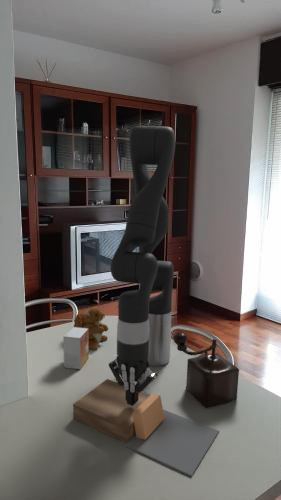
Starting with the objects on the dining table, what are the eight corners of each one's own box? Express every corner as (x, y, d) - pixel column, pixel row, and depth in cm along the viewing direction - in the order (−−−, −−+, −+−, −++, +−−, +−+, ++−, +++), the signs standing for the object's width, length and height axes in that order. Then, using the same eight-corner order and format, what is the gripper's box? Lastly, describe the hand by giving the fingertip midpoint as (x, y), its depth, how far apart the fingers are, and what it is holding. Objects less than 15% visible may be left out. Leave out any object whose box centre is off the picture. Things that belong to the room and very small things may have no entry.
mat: (159, 409, 96) (159, 408, 96) (218, 432, 88) (218, 430, 88) (125, 446, 83) (125, 444, 82) (191, 477, 74) (191, 475, 74)
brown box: (107, 392, 103) (107, 378, 102) (157, 411, 95) (158, 397, 94) (73, 418, 91) (73, 404, 91) (127, 443, 83) (127, 427, 83)
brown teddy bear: (97, 351, 127) (97, 315, 125) (64, 342, 133) (63, 308, 131) (112, 340, 136) (112, 306, 134) (80, 332, 142) (79, 300, 140)
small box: (80, 370, 115) (80, 338, 113) (63, 368, 116) (63, 336, 114) (89, 358, 122) (89, 328, 120) (73, 356, 124) (72, 326, 122)
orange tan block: (151, 393, 92) (160, 394, 91) (156, 416, 92) (164, 418, 91) (132, 412, 84) (140, 414, 83) (136, 437, 85) (145, 439, 83)
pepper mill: (213, 380, 111) (217, 323, 107) (238, 400, 101) (242, 338, 97) (168, 391, 104) (170, 331, 101) (189, 414, 94) (192, 348, 91)
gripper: (165, 337, 86) (163, 404, 90) (119, 324, 93) (118, 387, 96) (149, 349, 80) (147, 421, 83) (100, 334, 87) (100, 401, 90)
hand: (131, 403), depth 90 cm, fingers closed
